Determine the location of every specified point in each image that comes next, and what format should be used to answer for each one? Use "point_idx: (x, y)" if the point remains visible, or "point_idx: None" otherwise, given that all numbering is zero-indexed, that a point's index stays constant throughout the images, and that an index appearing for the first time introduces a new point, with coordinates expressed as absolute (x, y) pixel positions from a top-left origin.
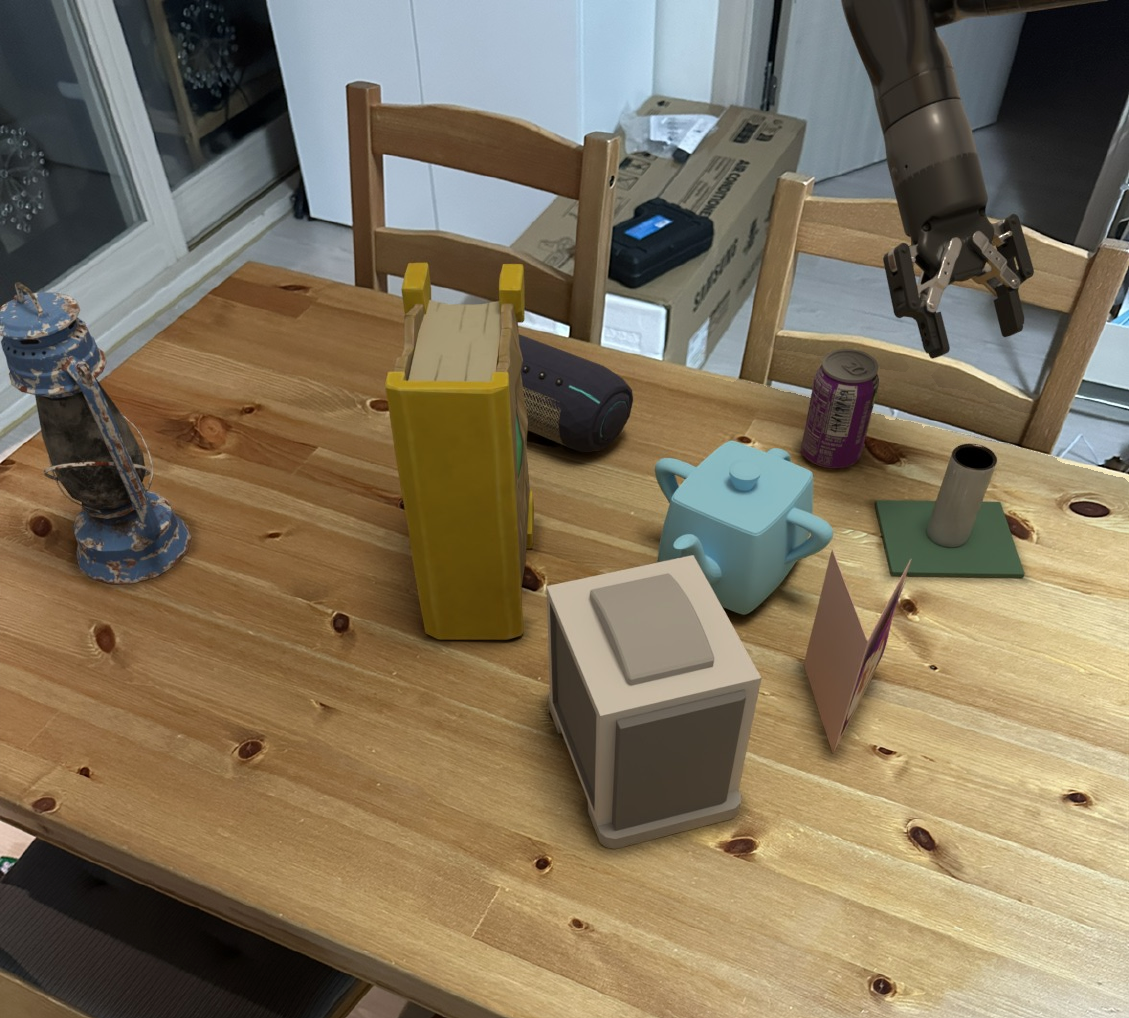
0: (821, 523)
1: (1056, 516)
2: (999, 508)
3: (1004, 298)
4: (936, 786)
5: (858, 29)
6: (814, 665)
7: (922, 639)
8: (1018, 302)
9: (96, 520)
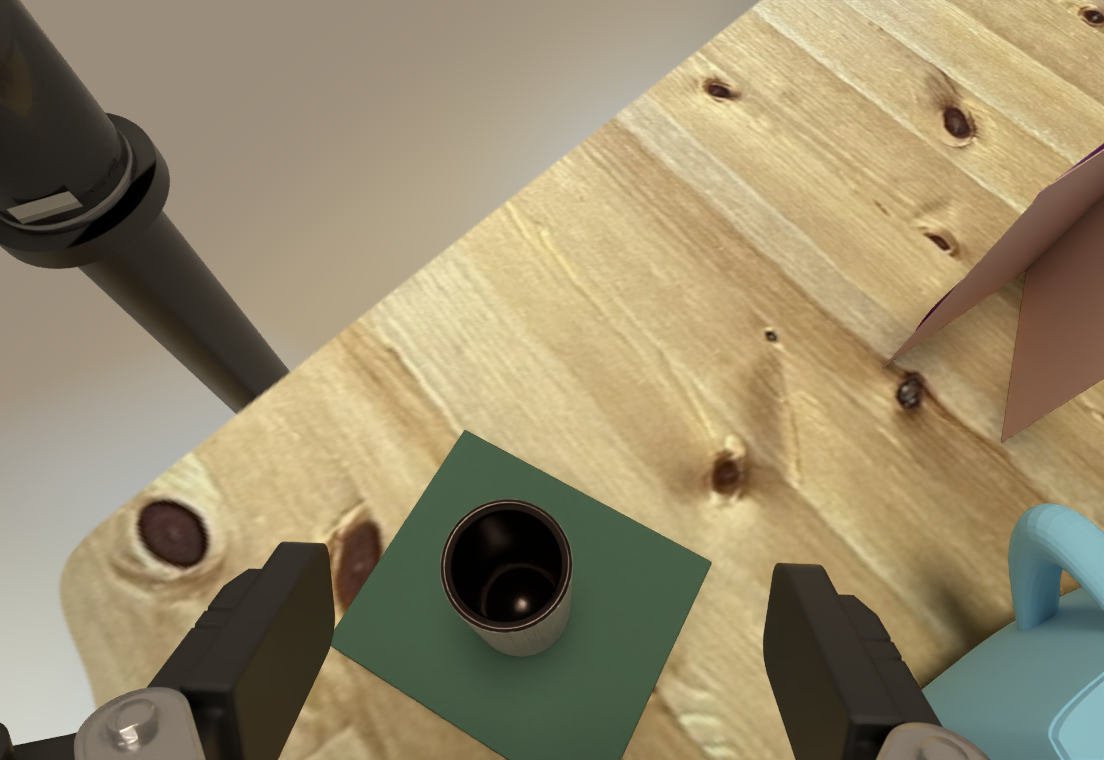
0: (1082, 530)
1: (251, 548)
2: (348, 622)
3: (251, 712)
4: (894, 170)
5: None
6: (1037, 378)
7: (750, 395)
8: (191, 651)
9: None
